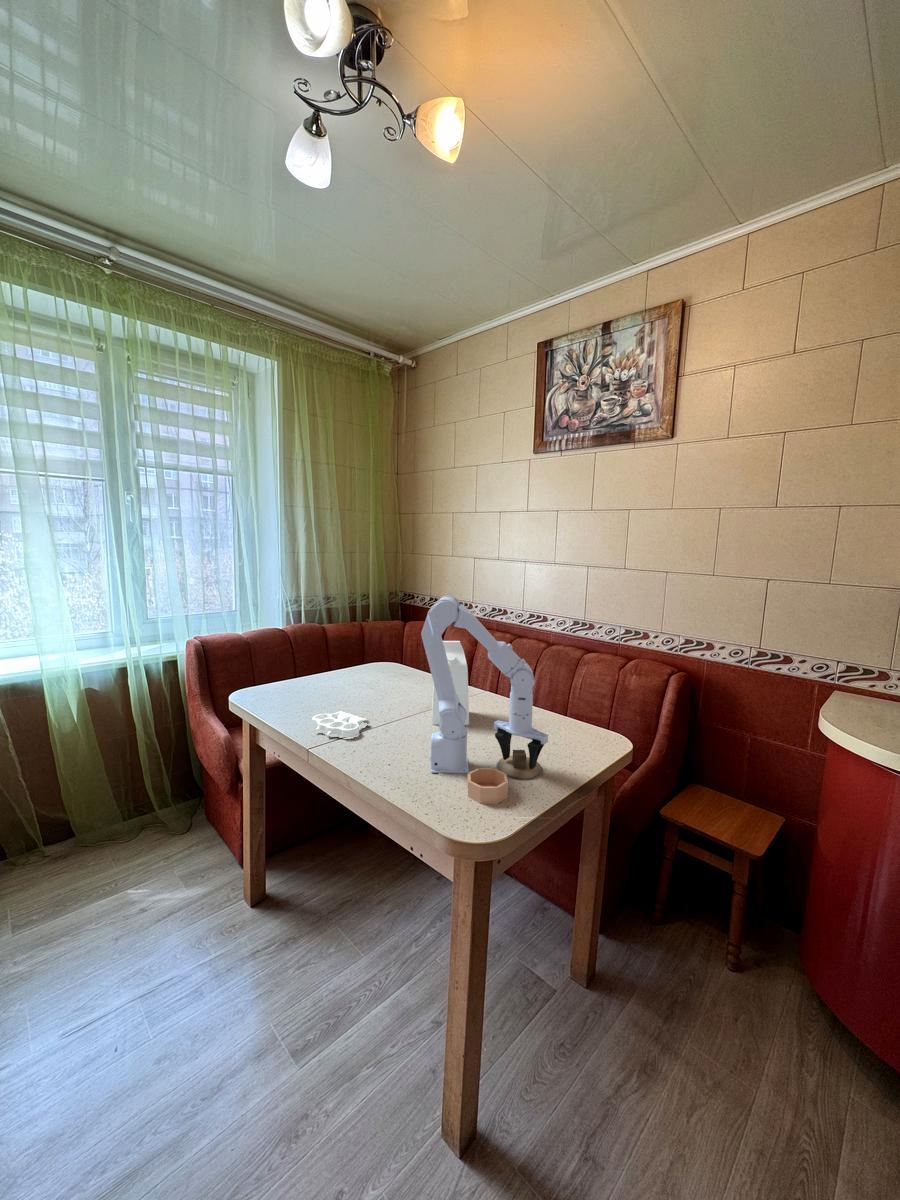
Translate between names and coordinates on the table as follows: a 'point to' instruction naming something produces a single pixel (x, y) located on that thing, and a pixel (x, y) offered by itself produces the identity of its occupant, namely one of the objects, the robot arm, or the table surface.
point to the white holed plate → (339, 723)
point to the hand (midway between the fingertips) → (519, 762)
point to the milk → (454, 678)
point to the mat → (523, 779)
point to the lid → (518, 766)
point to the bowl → (487, 785)
